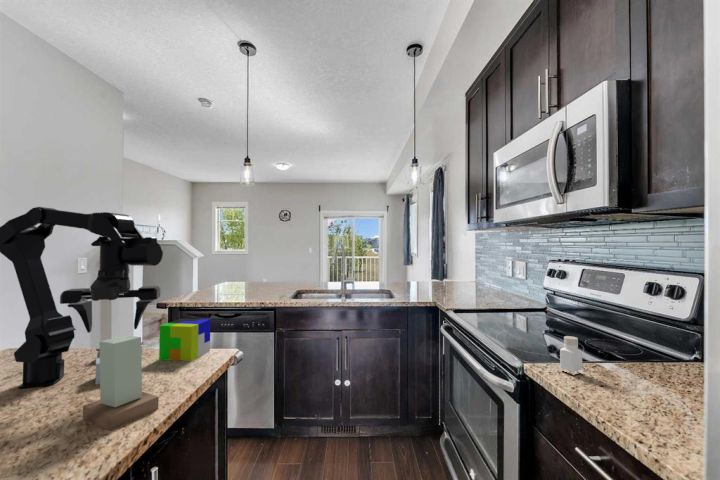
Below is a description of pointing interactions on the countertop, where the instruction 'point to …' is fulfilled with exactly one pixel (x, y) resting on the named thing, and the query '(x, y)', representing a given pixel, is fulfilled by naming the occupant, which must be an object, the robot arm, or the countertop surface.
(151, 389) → the countertop surface
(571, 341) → the salt shaker
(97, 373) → the slate painted cube
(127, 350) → the sage pillar block
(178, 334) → the puzzle toy
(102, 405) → the walnut base block
